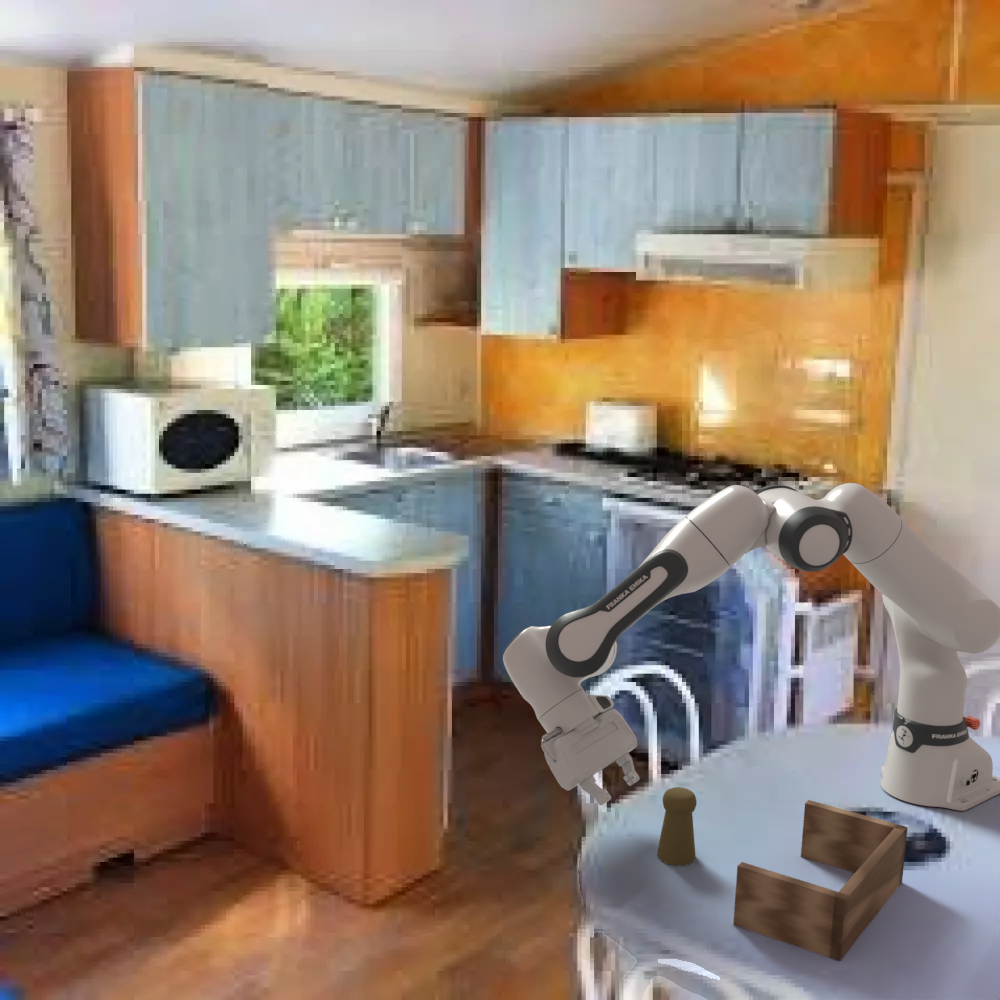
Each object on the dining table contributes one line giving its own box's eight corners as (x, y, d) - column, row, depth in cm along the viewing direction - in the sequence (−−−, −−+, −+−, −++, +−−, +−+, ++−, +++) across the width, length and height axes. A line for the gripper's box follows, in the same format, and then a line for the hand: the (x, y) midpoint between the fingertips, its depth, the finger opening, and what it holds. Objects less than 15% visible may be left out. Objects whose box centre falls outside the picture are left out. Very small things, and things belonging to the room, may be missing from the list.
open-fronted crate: (733, 924, 181) (737, 865, 180) (804, 852, 203) (808, 799, 201) (840, 961, 173) (845, 899, 171) (902, 882, 195) (907, 827, 193)
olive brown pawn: (694, 867, 198) (699, 801, 195) (655, 863, 199) (659, 796, 196) (696, 849, 203) (700, 784, 201) (658, 845, 204) (661, 780, 202)
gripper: (549, 728, 198) (601, 805, 194) (614, 693, 214) (663, 763, 211) (524, 748, 201) (574, 824, 198) (589, 712, 218) (637, 781, 214)
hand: (620, 792), depth 204 cm, fingers open, 8 cm apart
